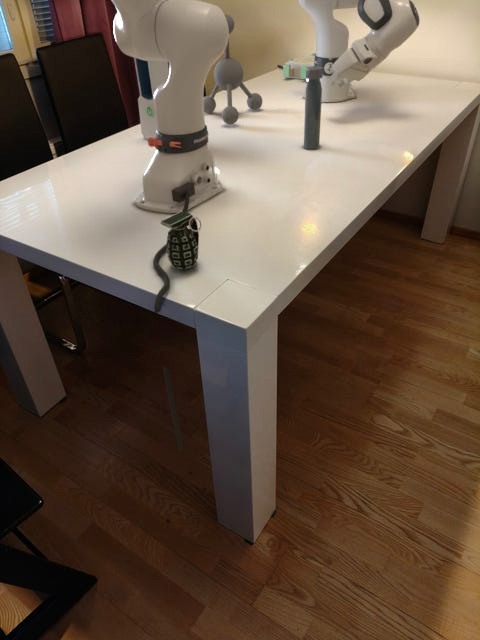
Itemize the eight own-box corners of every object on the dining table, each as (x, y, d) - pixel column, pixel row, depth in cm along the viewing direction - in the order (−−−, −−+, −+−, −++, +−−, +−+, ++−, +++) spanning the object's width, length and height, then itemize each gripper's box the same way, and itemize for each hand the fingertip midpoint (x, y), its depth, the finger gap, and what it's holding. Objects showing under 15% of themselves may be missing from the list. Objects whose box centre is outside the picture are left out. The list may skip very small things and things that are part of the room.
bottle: (322, 148, 139) (326, 69, 127) (308, 150, 138) (311, 72, 125) (314, 143, 142) (317, 67, 130) (301, 146, 141) (303, 69, 129)
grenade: (182, 278, 88) (175, 228, 82) (162, 268, 91) (153, 219, 85) (208, 263, 92) (203, 214, 85) (187, 253, 95) (181, 205, 89)
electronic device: (141, 137, 154) (123, 28, 136) (159, 131, 158) (144, 24, 140) (166, 145, 147) (151, 30, 129) (185, 138, 151) (172, 26, 133)
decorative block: (304, 51, 222) (344, 54, 212) (304, 67, 226) (343, 70, 216) (274, 62, 206) (316, 65, 196) (274, 78, 210) (315, 83, 200)
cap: (325, 78, 128) (326, 68, 126) (310, 80, 127) (311, 70, 125) (317, 75, 131) (317, 65, 130) (303, 77, 130) (303, 67, 128)
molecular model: (282, 115, 166) (282, 11, 148) (228, 129, 157) (221, 20, 138) (243, 102, 182) (239, 7, 163) (192, 114, 173) (181, 15, 154)
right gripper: (375, 48, 157) (341, 79, 166) (352, 39, 141) (316, 74, 150) (385, 65, 157) (350, 95, 166) (363, 57, 141) (326, 91, 150)
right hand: (334, 85), depth 158 cm, fingers open, 8 cm apart
